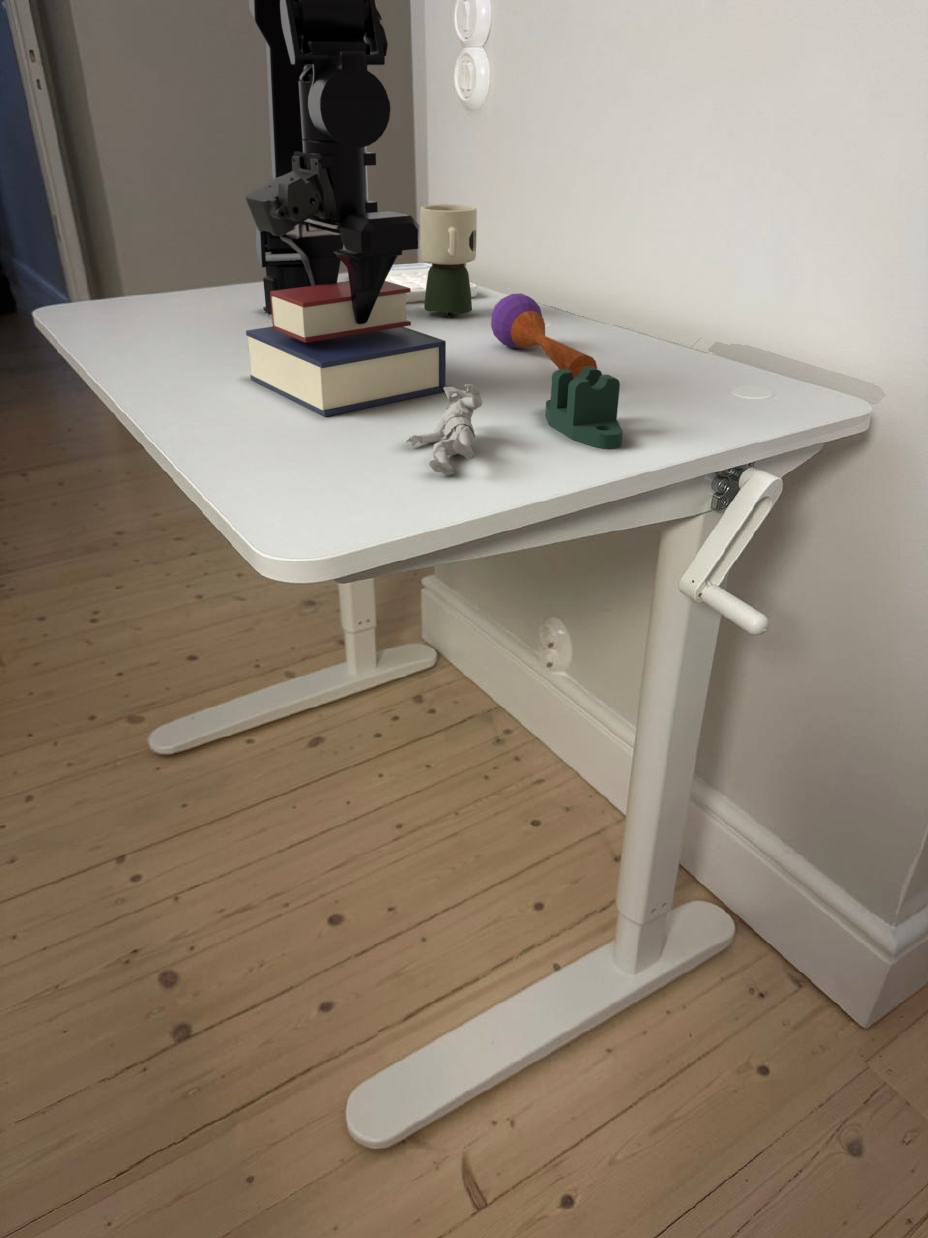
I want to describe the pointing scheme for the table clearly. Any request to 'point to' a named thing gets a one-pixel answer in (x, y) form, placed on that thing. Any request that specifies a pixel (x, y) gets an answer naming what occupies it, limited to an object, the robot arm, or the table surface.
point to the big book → (348, 368)
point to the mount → (585, 407)
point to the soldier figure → (453, 429)
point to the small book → (334, 311)
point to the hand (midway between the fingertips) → (343, 316)
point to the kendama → (533, 332)
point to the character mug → (448, 255)
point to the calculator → (415, 280)
